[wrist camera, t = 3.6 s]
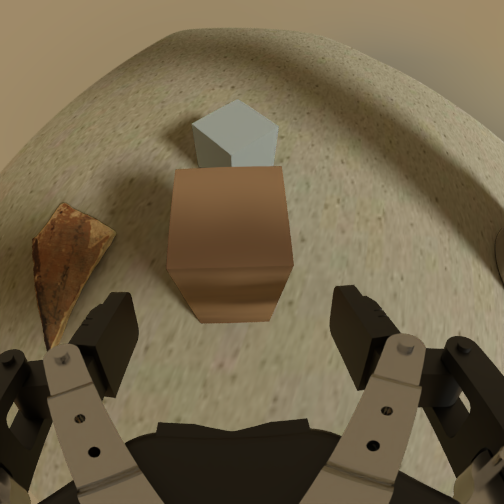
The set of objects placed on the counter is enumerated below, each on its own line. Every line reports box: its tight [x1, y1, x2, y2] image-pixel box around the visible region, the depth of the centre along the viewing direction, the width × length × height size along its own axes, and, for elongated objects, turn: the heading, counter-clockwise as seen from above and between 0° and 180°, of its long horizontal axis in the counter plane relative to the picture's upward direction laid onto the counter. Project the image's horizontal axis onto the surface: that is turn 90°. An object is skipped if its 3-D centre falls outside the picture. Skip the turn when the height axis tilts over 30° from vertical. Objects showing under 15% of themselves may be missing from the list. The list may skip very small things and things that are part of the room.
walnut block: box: [166, 166, 294, 323], centre depth 16 cm, size 4×4×10 cm
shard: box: [32, 203, 116, 352], centre depth 20 cm, size 11×8×2 cm
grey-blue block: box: [192, 99, 279, 168], centre depth 23 cm, size 4×4×5 cm
